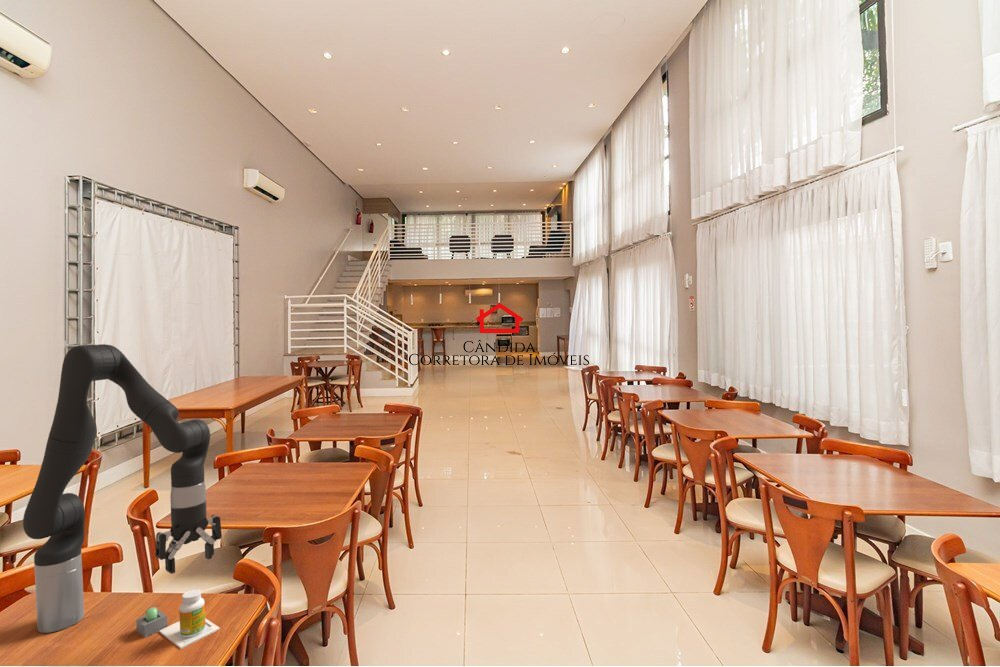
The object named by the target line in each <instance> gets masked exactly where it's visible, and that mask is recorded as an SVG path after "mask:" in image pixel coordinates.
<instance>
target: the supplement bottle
mask: <svg viewBox="0 0 1000 667" xmlns="http://www.w3.org/2000/svg"><path fill="white" fill-rule="evenodd" d="M181 601H182V603H181V604H180V605H179V609H178V610H179V611H178V612H179V621H180V635H181V636H182V637H185V638H188V637H193V636H196V635H198V634H200V633H201V632H203V631H204V629H205V618H206V608H205V606H206V604H205V599H204V598H203V597H202V591H201V589H197V588H196V589H191V590H188V591H185V592H184V593H183V594H182V596H181Z"/></svg>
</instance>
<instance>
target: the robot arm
mask: <svg viewBox="0 0 1000 667" xmlns="http://www.w3.org/2000/svg"><path fill="white" fill-rule="evenodd" d="M103 380H109V381H111V382H112V383H114V384H116V385H117V386H119V387H120V388H121V389H122V390H123V392H124V394H125V399H126V402H127V405H128V408H129V409H130V411H131V412H132V413H133V414H134V415H135V416H136V417H138V419H140V420H141V421H142V422H143V423H145V424H146V426H148V427H150V428H151V431H152V432H153V434H154V436H155V437H156V439H157V440H158V442H159V443H160V445H161V446H162V448H164V449H165V450H166V451H168V452H171V453H173V454H174V453H175V454H179V453H182V454H181V456H180V457H179V459H177V460H175V461H174V462H173V463H172V465H171V467H170V480H171V481H170V483H171V484H170V486H171V487H170V496H169V497H170V498H169V499H170V524H171V527H170V530H167V531H165V532H161V531H158V532H157V533H156V535H155V557H156V558H157V559H159V560H161V561H163V560H164V561H165V562H164V564H165V565H164V566H165V571H167V573H169V574H171V575H173V574H175V573H176V559H175V556H176V555H177V552H178V551H180V549H182V547H183V545H187V544H190V543H192V542H196V541H199V539H202V540H203V541H204V542H205V543H204V558H205V559H207V560H212V559H213V556H214V554H215V547H214V546H215V543H216V542H217V541H218V540H220V539H222V537H223V534H222V524H221V518H220V516H218V515H215V514H212V515H211V516H210V517H209V518H207V513H208V512H207V488H206V483H205V462H206V459H207V454H208V451H209V446H210V442H211V433H210V428H209V426H208V424H207V423H206V422H205V421H204V420H202V419H197V418H194V419H190V420H187V421H183V422H178V421H177V420H178V418H179V416H180V412H179V409H178V407H176V406H175V405H174V404H173V403H172V402H171V401H169V400H168V399H167V398H166V397H165V396H163V395H162V394H161V393H160V392H159V391H157V390H156V389H155V388H154V387H153V386H151V384H150V383H149V382H147V380H146V379H145V378H144V377H143V375H142V374H141V373H140V372H139V371H138V369H137V368H136V367H135V366H134V365H133V363H131V361H130V360H129V358H127V357H126V355H125V354H124V353H123V352H122V351H121V350H120V349H119V348H117V347H116V346H114V345H111V344H104V343H103V344H84V345H83V344H81V345H76V346H73V347H71V348H70V349H69V350H68V351H67V352H66V354H65V355H64V358H63V361H62V367H61V371H60V382H59V388H58V397H57V402H56V406H55V411H54V416H53V419H52V424H51V426H50V430H49V433H48V438H47V441H46V445H45V448H44V449H45V450H44V456H43V459H42V462H41V466H40V470H39V473H38V476H37V480H36V483H35V485H34V487H33V490H32V492H31V495H30V498H29V500H28V503H27V505H26V508H25V510H24V513H23V518H22V527H23V531H24V533H25V535H26V536H27V537H28V538H29V539H32V540H43V539H46V538H48V539H47V540H46V541H45V543H44V544H43V545H41V546H40V547H39V548H38V549H37V550H36V551H35V553H34V555H33V560H34V561H33V562H34V564H33V565H34V582H35V583H34V584H35V602H36V603H35V604H36V605H35V606H36V607H35V608H36V625H37V632H38V633H41V634H42V633H43V634H46V633H47V634H48V633H54V632H58V631H62V630H64V629H68V628H70V627H72V626H74V625H75V624H77V623H79V622H80V621H81V620H83V618H84V617H85V607H84V606H85V604H84V601H85V600H84V599H85V598H84V580H83V563H82V562H83V561H82V558H83V557H82V546H83V544H84V541H85V526H86V524H85V521H86V517H85V516H86V515H85V514H86V513H85V512H86V511H85V505H84V502H83V501H82V499H81V497H79V495H77V494H75V493H73V492H66V493H64V492H65V490H66V488H67V487H68V484H69V483H70V482H71V480H72V479H73V478H74V477H75V476H76V475H77V474H78V472H79V471H80V470H81V469H82V467H83V466H84V464H85V463H86V462H87V460H88V459H89V457H90V455H91V454H92V451H93V448H94V444H95V439H96V437H97V432H98V427H97V423H96V420H95V419H94V418H95V417H93V413H92V412H91V410H90V408H89V406H88V396H89V390H90V387H91V384H92V382H95V381H103ZM208 525H210V526H211V535H209V534H208V532H207V531H206V529H207V528H208ZM170 537H172V539H171V541H170V542H169V544H168V548H167V542H168V541H169V538H170Z"/></svg>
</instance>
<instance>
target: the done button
mask: <svg viewBox="0 0 1000 667" xmlns="http://www.w3.org/2000/svg"><path fill="white" fill-rule="evenodd" d="M157 610H158V607H155V606H153V607H150V608H148V609H146V610H145V615H146V622H147V623H148V622H150V621H152V620H154V619H156V618H157Z"/></svg>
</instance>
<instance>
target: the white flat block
mask: <svg viewBox="0 0 1000 667" xmlns="http://www.w3.org/2000/svg"><path fill="white" fill-rule="evenodd" d="M219 629H220V630H221V627H220V626H218V625H216V624H215V623H214V622H212V621H210V620H209V619H207V618H206V617H205V629H204V631H203V632H201V633H200V634H198V635H196V636H193V637H188V638H185V637H182V636H181V635H180V620H179V621H177V622H175V623H172V624H170V625H167V627H166V628H164V629H162V630H160V631H158V632H159V634H161V635H162V636H164V637H165V638H166V639H167V640H169V641H170V642H171V643H173V644H174V645H175V646H177V648H179V649H180V650H182V649H184V648H186V647H188V646H190V645H192V644H194V643H196V642H198V641H200V640H202V639H203V638H206V637H207V636H208V637H209V635H212V634H213V633H215V632H218V631H220V630H219ZM217 630H218V631H217Z"/></svg>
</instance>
